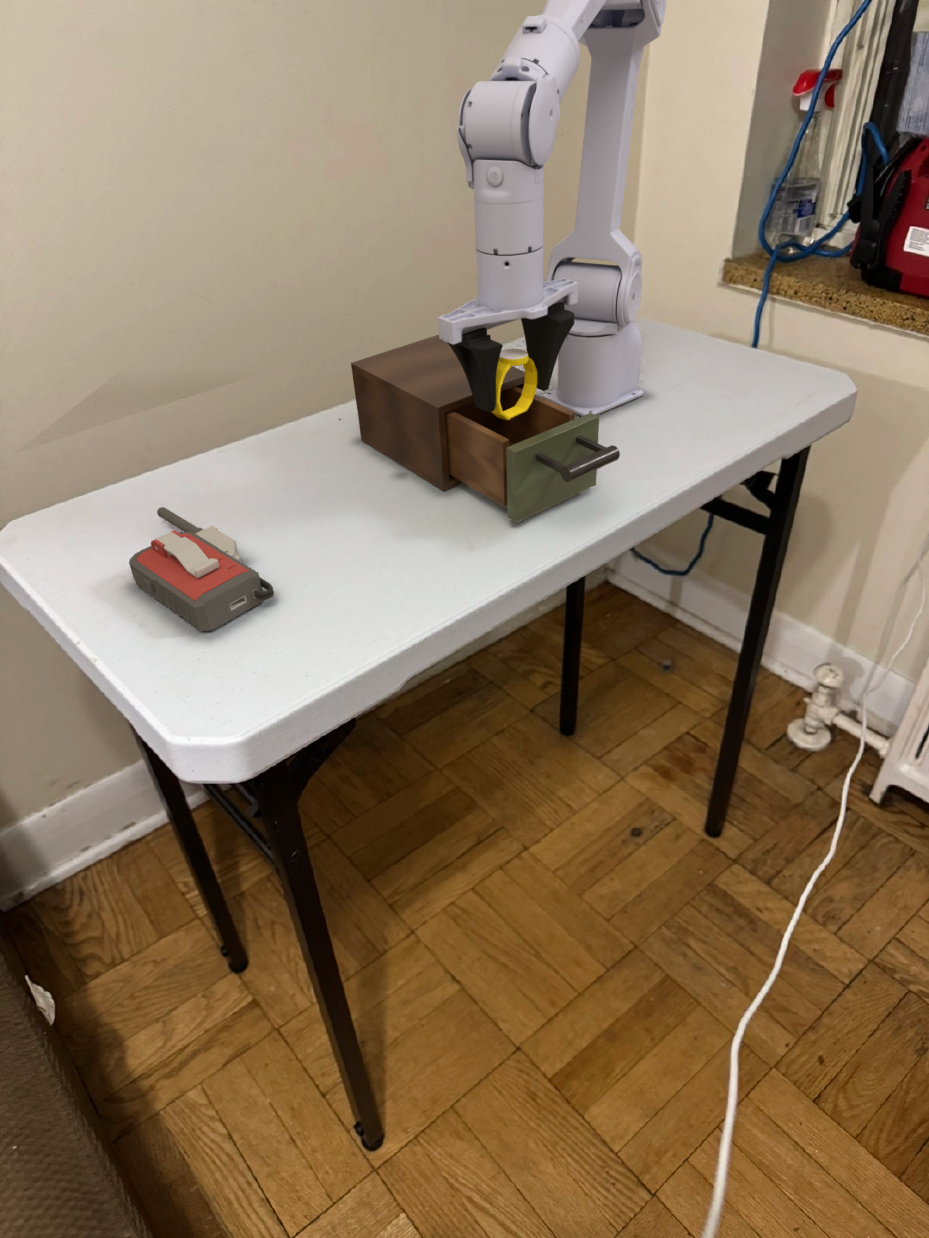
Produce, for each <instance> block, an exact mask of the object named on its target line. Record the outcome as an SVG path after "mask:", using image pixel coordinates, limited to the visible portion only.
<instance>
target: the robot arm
mask: <svg viewBox="0 0 929 1238" xmlns="http://www.w3.org/2000/svg"><path fill="white" fill-rule="evenodd" d="M666 5H667V0H546V2H545V4H544V6H543V9H542V11H541V13H540V14H537V15H528V16H526V18H525V19H524V21H523V22H522V23H521V25H520V26H519V27H518V29H517V30H516V32H515V34H514V35H513V38H512V39H511V41H510V42H509V45H508V46H507V48H506V50H505V51H504V53H503V55H502V56H501V58H500V60H499V62H498V64H497V65H496V66H495V68H494V71H493V72H492V74H491V75H490V77H489V78H488V80H479V81H477V82H476V83H474V85H473V86H472V87H471V88H469V89H467V90H466V91H465V93H464V94H463V97H462V99H461V102H460V105H459V110H458V120H457V121H458V122H457V123H458V124H457V127H456V137H457V138H456V139H457V144H458V148H459V152H460V155H461V156H462V159H463V162H464V166H465V179H466V181H465V182H466V183H467V187H468V188H469V189H472V191H473V212H474V213H473V215H474V237H475V260H476V261H475V263H476V282H477V283H476V285H477V286H476V287H477V296H476V297H474V298H473V299H471V300H469V301H468V302H466V303H464V304H463V305H461V306H459V307H458V308H456V309H454V310H452V311H450V312H448V313H446V314H443V315H440V316H438V317H437V324H438V325H437V326H438V335H439V339H441V340H443V341H445V342H447V343H448V344H449V346H450V347H451V348H452V350H453V352H454V353H455V355H456V357H457V358H458V360H459V362H460V364H461V366H462V368H463V370H464V372H465V375H466V377H467V380H468V383H469V386H470V389H471V392H472V395H473V399H474V402H475V406H476V407H478V408H480V409H482V410H484V411H486V412H491V411H494V409H495V403H496V373H497V366H498V361H499V357H500V353H501V351H502V349H503V347H504V345H503V343H501V342H498V341H495V340H493V339H492V338H491V334H488V330H492V329H494V328H497V327H500V326H503V325H506V324H509V323H512V322H515V321H518V320H520V321H521V322H520V323H521V325H522V331H523V334H524V339H525V347H526V352H527V353H528V357H529V358H531V359H532V360H533V361H534V364H535V366H536V369H537V389H536V390H539V391H541V392H545V393H543V394H541V397H542V398H544V399H546V400H549V401H551V402H553V403H555V404H557V405H560V406H562V407H564V408H566V409H569V410H571V411H573V412H575V415H577V416H579V417H581V416H584V415H586V414H588V413H592V414H595V415H597V416H598V415H599V414H602V413H604V412H606V411H608V410H612V409H614V408H616V407H618V406H621V405H624V404H626V403H628V402H630V401H633V400H635V399H638V398H640V397H642V396H644V390H642V389H641V388H639V387H640V386H639V385H640V374H641V373H640V372H641V361H642V346H643V341H642V335H641V331H640V329H639V326H638V324H637V323H636V322H635V318H636V317H637V314H638V312H639V309H640V304H641V298H642V292H643V291H642V290H643V278H642V267H643V258H642V253H641V251H640V250H639V248H638V247H637V245H635V244H634V243H633V242H632V241H631V240H630V239H629V238H628V237H627V236H626V235H625V234H624V233H623V232H622V230H621V223H622V215H623V208H624V198H625V192H626V191H625V190H626V180H627V173H628V165H629V157H630V148H631V141H632V140H631V139H632V131H633V122H634V114H635V106H636V98H637V90H638V80H639V73H640V69H641V63H642V58H643V54H644V50H645V47H646V46H647V45H648V44H650V43H652V42H654V41H655V40H656V39H658V38H660V36H661V33H662V25H663V24H664V20H665V15H666V8H667V7H666ZM580 44H582V45H583V46H585V47H587V50H588V52H589V55H590V58H591V59H590V68H589V76H588V77H589V79H588V88H587V99H586V110H585V120H584V128H583V129H584V130H583V140H582V149H581V150H582V151H581V160H580V170H579V181H578V190H577V191H578V192H577V202H576V210H575V220H574V221H575V222H574V230H573V231H572V232H571V233H569V234H568V235H566V236H565V237H564V238H562V239H561V240H560V241H558V242H557V243H556V244H555V245H554V246H553V247H552V248H551V251H550V254H549V258H548V259H549V260H548V266H547V271H546V274H545V277H544V193H545V192H544V190H545V189H544V187H545V185H544V184H545V182H544V181H545V180H544V179H545V177H544V175H545V174H544V173H545V171H544V170H545V169H544V165H545V164H546V163H547V162H548V160H549V159H550V157H551V155H552V153H553V149H554V145H555V141H556V134H557V133H556V132H557V127H558V124H559V122H560V117H561V106H560V103H561V102H562V100H563V98H564V96H565V94H566V92H567V90H568V88H569V86H570V85H571V83H572V81H573V79H574V77H575V75H576V74H577V71H578V70H579V66H580V62H581V50H580V49H581V48H580ZM575 259H586V260H597V261H608V262H612V263H614V264H604V263H594V262H593V263H592V262H580V261H574V260H575ZM556 363H557V388H554V389H552V390H550V391H548V390H549V389H550V384H551V381H552V377H553V373H554V369H555V366H556ZM546 391H547V392H546Z"/></svg>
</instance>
